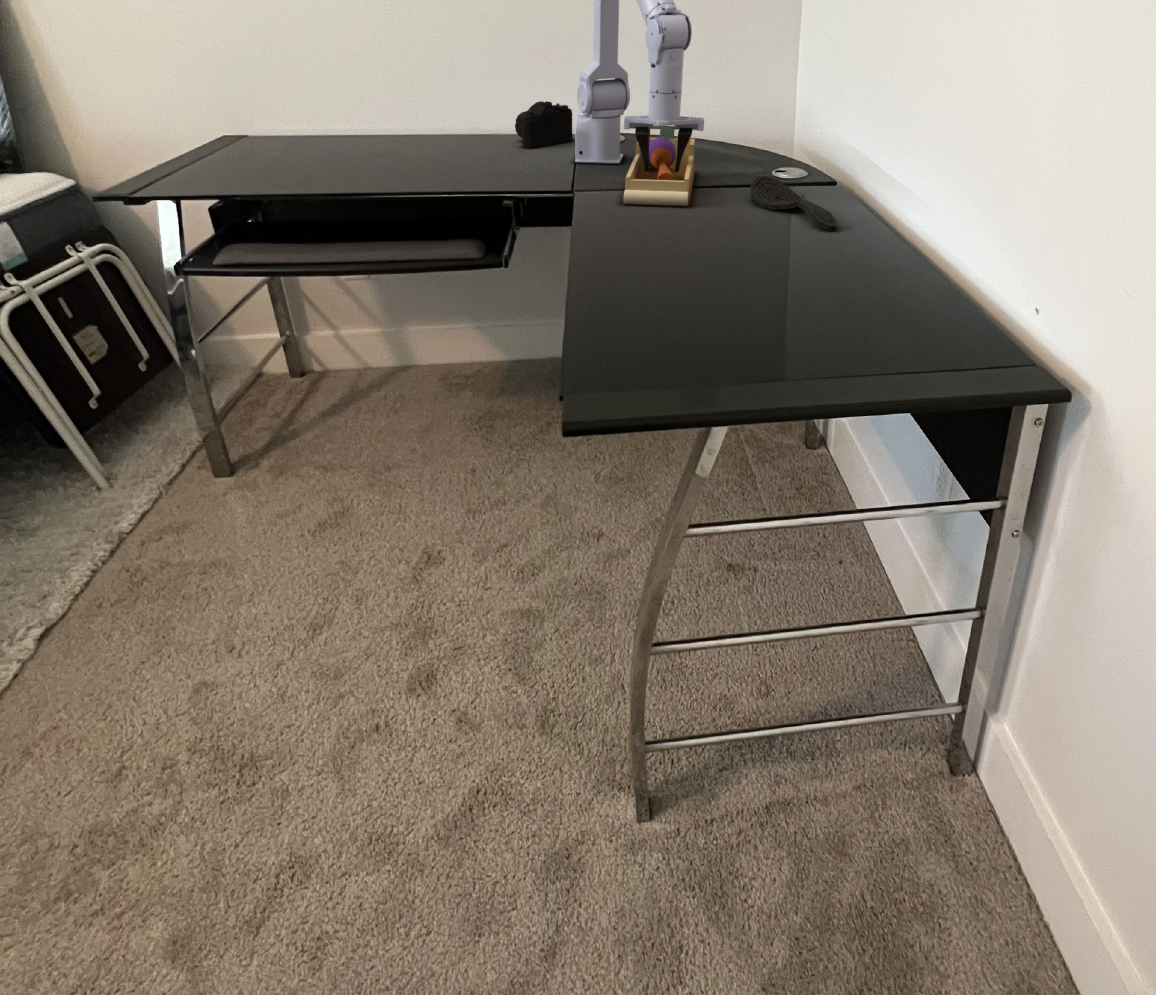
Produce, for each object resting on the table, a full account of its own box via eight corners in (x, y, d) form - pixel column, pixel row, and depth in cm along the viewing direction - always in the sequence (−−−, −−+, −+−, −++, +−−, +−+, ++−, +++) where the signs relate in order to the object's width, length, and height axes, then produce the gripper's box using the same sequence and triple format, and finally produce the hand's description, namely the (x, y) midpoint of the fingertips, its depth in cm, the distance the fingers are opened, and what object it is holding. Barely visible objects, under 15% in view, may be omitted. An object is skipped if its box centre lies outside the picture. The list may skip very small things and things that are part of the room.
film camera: (550, 134, 203) (550, 94, 198) (577, 140, 197) (577, 98, 192) (501, 143, 195) (499, 101, 190) (528, 150, 189) (526, 106, 184)
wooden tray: (688, 207, 148) (692, 157, 143) (621, 205, 149) (623, 156, 145) (694, 172, 170) (697, 128, 165) (636, 170, 171) (637, 127, 167)
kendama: (646, 168, 149) (642, 137, 165) (652, 201, 152) (647, 167, 168) (680, 161, 148) (672, 130, 164) (684, 195, 152) (676, 161, 167)
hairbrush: (812, 215, 133) (742, 172, 152) (808, 238, 135) (739, 193, 154) (858, 211, 135) (783, 169, 154) (853, 234, 137) (779, 189, 156)
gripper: (623, 93, 149) (621, 174, 156) (705, 95, 147) (699, 176, 154) (627, 88, 154) (625, 165, 162) (706, 89, 153) (700, 168, 160)
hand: (661, 170), depth 158 cm, fingers closed on kendama, 5 cm apart
